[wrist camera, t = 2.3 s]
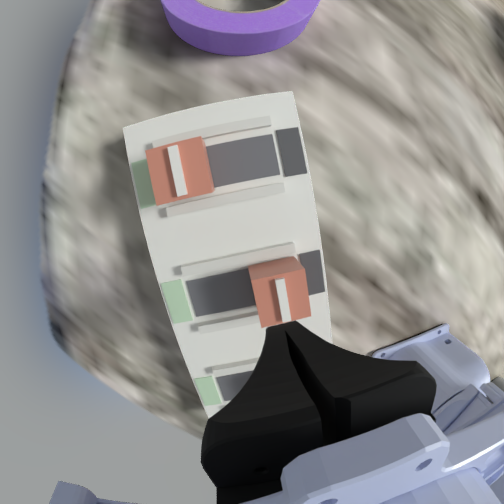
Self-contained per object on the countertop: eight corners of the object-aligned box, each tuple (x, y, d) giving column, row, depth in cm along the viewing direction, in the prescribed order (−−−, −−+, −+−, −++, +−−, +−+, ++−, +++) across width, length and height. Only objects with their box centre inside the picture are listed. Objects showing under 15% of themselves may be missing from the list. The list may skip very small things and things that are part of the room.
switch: (205, 143, 16) (200, 134, 13) (214, 190, 17) (212, 192, 14) (157, 155, 16) (143, 149, 13) (167, 202, 17) (155, 206, 14)
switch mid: (293, 255, 18) (306, 270, 16) (300, 298, 19) (312, 318, 16) (247, 265, 18) (251, 282, 15) (256, 308, 19) (262, 330, 16)
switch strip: (284, 100, 19) (294, 88, 16) (327, 381, 24) (337, 401, 22) (134, 133, 18) (119, 126, 15) (212, 405, 24) (211, 428, 21)
